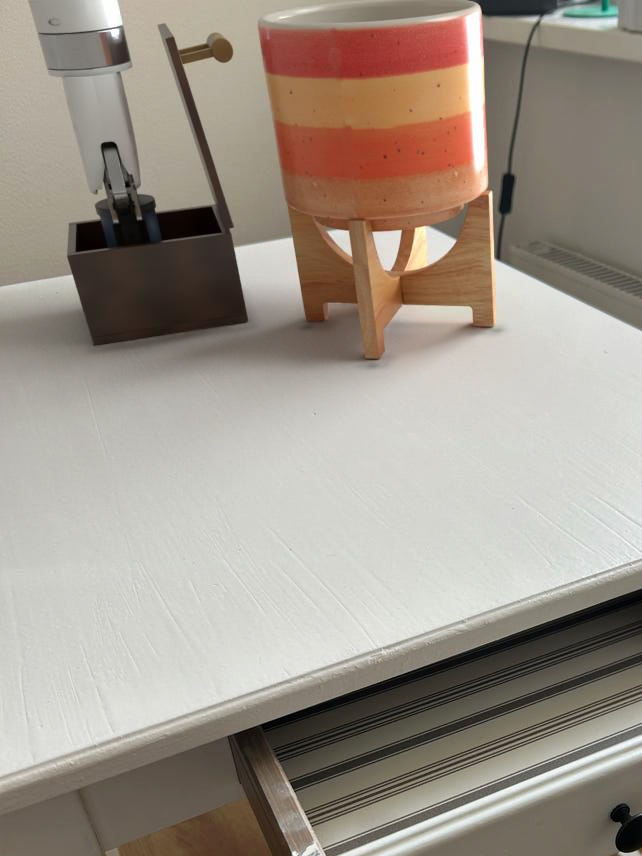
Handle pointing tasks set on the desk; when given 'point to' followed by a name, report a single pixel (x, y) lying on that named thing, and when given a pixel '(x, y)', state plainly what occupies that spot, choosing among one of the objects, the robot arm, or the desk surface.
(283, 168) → the planter
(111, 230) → the canister
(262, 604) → the desk surface
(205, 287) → the chest
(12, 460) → the desk surface
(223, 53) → the lid
